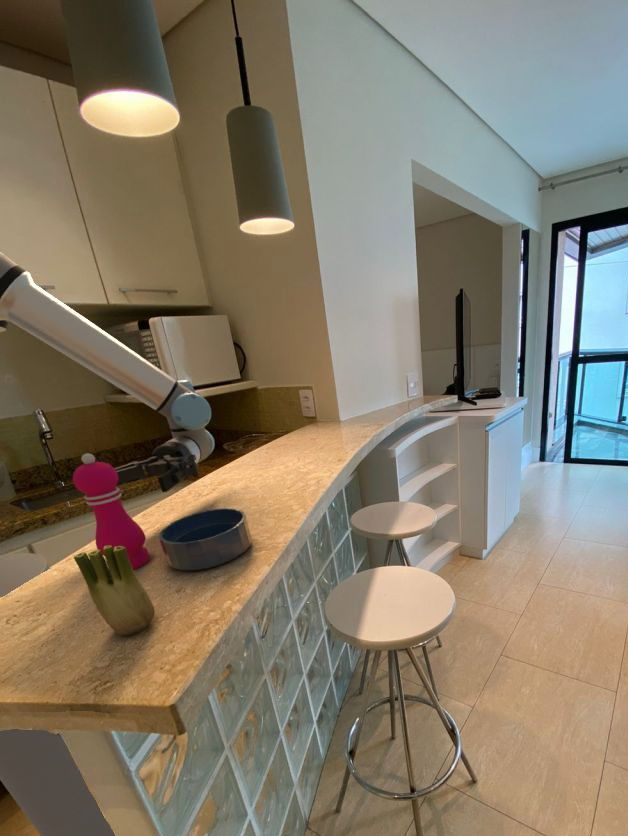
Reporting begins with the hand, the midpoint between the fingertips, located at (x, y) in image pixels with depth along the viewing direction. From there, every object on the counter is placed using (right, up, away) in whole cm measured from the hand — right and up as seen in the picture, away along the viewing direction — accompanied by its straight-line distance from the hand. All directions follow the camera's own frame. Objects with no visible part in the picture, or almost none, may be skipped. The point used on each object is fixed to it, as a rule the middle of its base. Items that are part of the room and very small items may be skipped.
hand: (124, 489), depth 73 cm
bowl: (+16, -11, 0) cm, 19 cm away
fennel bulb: (+13, -20, -18) cm, 30 cm away
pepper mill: (+1, -13, -1) cm, 13 cm away
